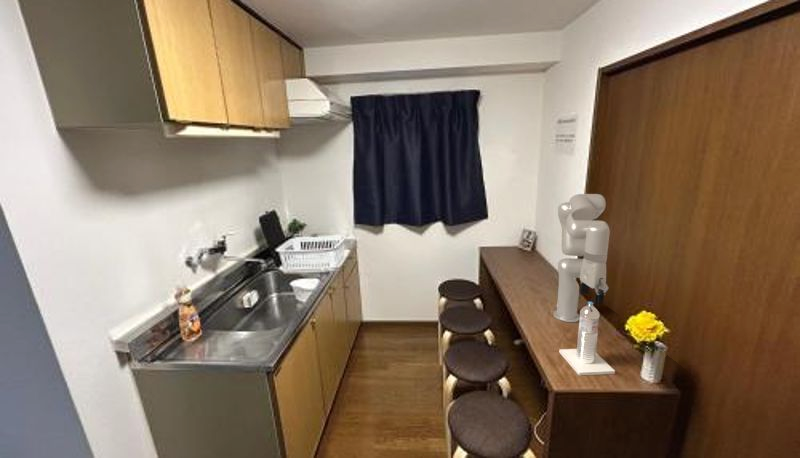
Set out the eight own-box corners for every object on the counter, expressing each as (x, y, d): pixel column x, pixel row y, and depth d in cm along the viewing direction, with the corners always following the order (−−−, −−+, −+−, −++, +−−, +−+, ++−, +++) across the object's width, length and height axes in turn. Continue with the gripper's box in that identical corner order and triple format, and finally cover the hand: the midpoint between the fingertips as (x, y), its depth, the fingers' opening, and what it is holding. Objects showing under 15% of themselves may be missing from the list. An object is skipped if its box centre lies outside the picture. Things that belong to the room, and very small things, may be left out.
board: (559, 352, 147) (559, 349, 147) (591, 350, 147) (591, 348, 147) (579, 375, 132) (579, 372, 131) (614, 373, 132) (615, 371, 132)
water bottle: (588, 354, 143) (594, 298, 138) (598, 363, 136) (604, 305, 131) (572, 354, 143) (577, 299, 137) (581, 364, 136) (587, 306, 131)
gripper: (573, 250, 138) (570, 289, 142) (599, 264, 121) (594, 308, 125) (592, 249, 138) (588, 289, 142) (619, 264, 122) (614, 308, 126)
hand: (591, 298), depth 134 cm, fingers open, 9 cm apart
